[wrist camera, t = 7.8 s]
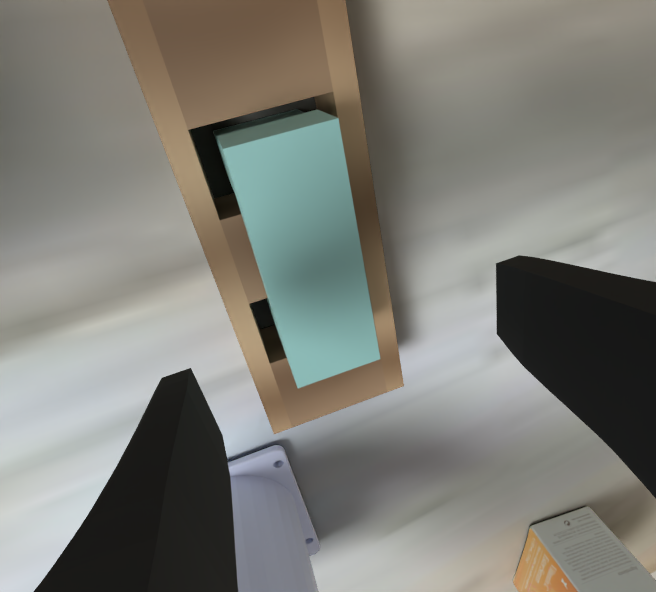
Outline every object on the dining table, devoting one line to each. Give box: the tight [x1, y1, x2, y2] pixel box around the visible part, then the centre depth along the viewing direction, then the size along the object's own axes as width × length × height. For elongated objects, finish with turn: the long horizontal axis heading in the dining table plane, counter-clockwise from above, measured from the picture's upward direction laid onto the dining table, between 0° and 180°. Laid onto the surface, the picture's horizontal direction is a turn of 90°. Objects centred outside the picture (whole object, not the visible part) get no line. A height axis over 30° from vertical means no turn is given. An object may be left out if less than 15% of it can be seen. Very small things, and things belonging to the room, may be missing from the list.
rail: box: [107, 0, 404, 434], centre depth 16 cm, size 16×6×2 cm, turn 12°
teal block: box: [213, 109, 380, 388], centre depth 15 cm, size 8×3×5 cm, turn 12°
